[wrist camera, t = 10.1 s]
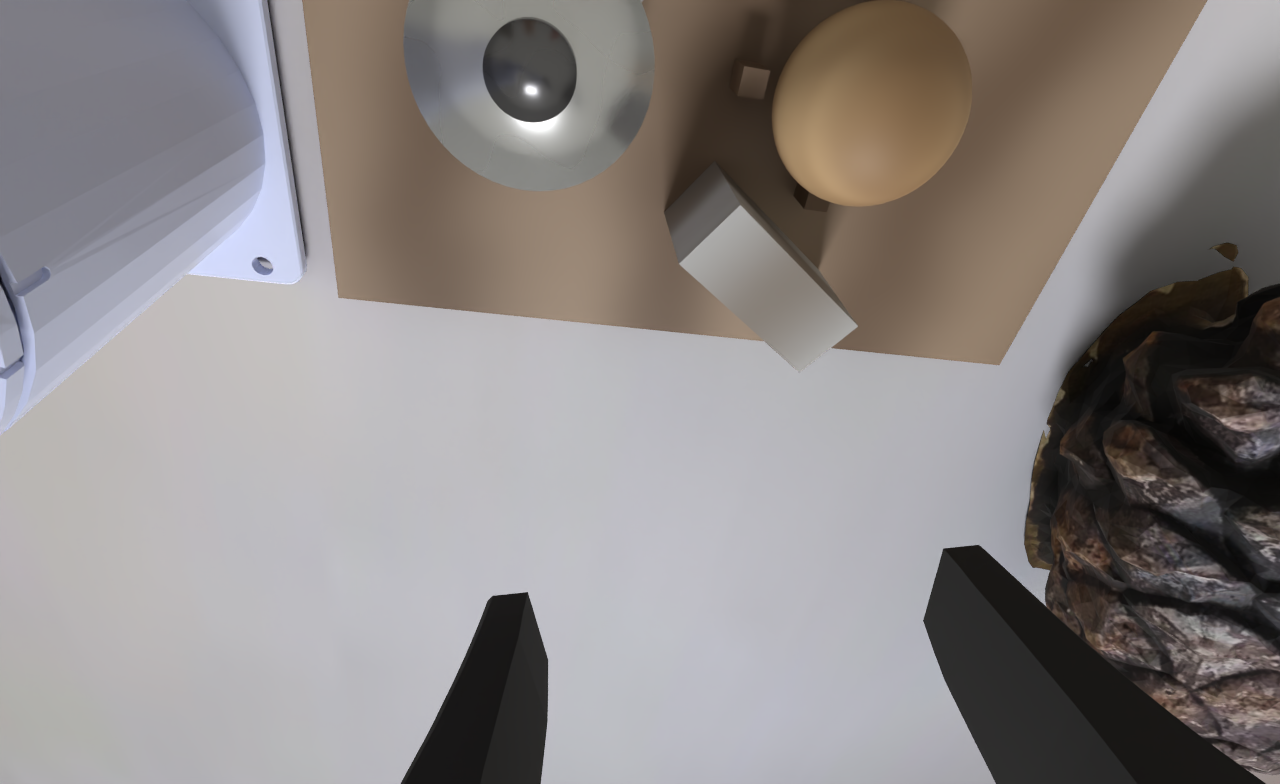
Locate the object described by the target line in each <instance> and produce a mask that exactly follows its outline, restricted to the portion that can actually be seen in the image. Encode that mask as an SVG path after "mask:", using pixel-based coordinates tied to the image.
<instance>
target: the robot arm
mask: <svg viewBox="0 0 1280 784" xmlns="http://www.w3.org/2000/svg"><path fill="white" fill-rule="evenodd" d="M258 257H263V258H266V259H267V260H269V261H270V262H271V264H272V266H273V269H268V268H265V267H264V266H262V265H261V264H260V262H259V260H258ZM306 267H307V264H306V257H305V251H304V244H303V237H302V231H301V224H300V217H299V210H298V204H297V197H296V190H295V184H294V177H293V170H292V163H291V157H290V150H289V143H288V137H287V130H286V123H285V117H284V110H283V103H282V96H281V90H280V83H279V76H278V70H277V63H276V56H275V49H274V43H273V36H272V29H271V23H270V16H269V9H268V2H267V0H0V435H1V434H2V433H3V432H5V431H6V430H7V429H9V428H10V427H11V426H12V425H13V424H15V423H16V422H17V421H18V420H19V419H20V418H21V417H23V416H24V415H25V414H26V413H27V412H28V411H30V410H31V409H32V408H33V407H34V406H35V405H36V404H38V403H39V402H40V401H41V400H42V399H43V398H45V397H46V396H47V395H48V394H49V393H50V392H51V391H53V390H54V389H55V388H56V387H57V386H58V385H59V384H61V383H62V382H63V381H64V380H65V379H66V378H68V377H69V376H70V375H71V374H72V373H73V372H74V371H76V370H77V369H78V368H79V367H80V366H81V365H82V364H84V363H85V362H86V361H87V360H88V359H89V358H91V357H92V356H93V355H94V354H95V353H96V352H97V351H99V350H100V349H101V348H102V347H103V346H104V345H106V344H107V343H108V342H109V341H110V340H111V339H112V338H114V337H115V336H116V335H117V334H118V333H119V332H120V331H122V330H123V329H124V328H125V327H126V326H127V325H129V324H130V323H131V322H132V321H133V320H134V319H135V318H137V317H138V316H139V315H140V314H141V313H142V312H143V311H145V310H146V309H147V308H148V307H149V306H150V305H152V304H153V303H154V302H155V301H156V300H157V299H158V298H160V297H161V296H162V295H163V294H164V293H165V292H167V291H168V290H169V289H170V288H171V287H172V286H173V285H175V284H176V283H177V282H178V281H179V280H180V279H181V278H183V277H184V276H185V275H186V274H192V275H202V276H212V277H221V278H231V279H240V280H250V281H260V282H269V283H279V284H294V283H296V282H298V281H299V280H300V279H301V278H302V276H303V275H304V274H305V272H306ZM923 621H924V624H925V627H926V630H927V633H928V636H929V639H930V641H931V644H932V647H933V650H934V653H935V656H936V658H937V661H938V663H939V666H940V669H941V671H942V674H943V677H944V679H945V682H946V684H947V686H948V688H949V690H950V692H951V694H952V696H953V698H954V700H955V702H956V704H957V706H958V708H959V710H960V712H961V714H962V716H963V718H964V720H965V722H966V724H967V726H968V728H969V730H970V732H971V734H972V736H973V738H974V740H975V742H976V744H977V746H978V748H979V750H980V752H981V754H982V756H983V758H984V760H985V762H986V764H987V766H988V768H989V770H990V772H991V774H992V776H993V778H994V780H995V782H996V784H1266V783H1264V782H1263V781H1261V780H1260V779H1258V778H1257V777H1256V776H1254V775H1253V774H1252V773H1250V772H1249V771H1247V770H1246V769H1245V768H1243V767H1242V766H1241V765H1239V764H1238V763H1236V762H1235V761H1234V760H1232V759H1231V758H1230V757H1228V756H1227V755H1225V754H1224V753H1223V752H1221V751H1220V750H1219V749H1217V748H1216V747H1214V746H1213V745H1212V744H1210V743H1209V742H1208V741H1206V740H1205V739H1204V738H1202V737H1201V736H1200V735H1199V734H1197V733H1196V732H1195V731H1193V730H1192V729H1191V728H1189V727H1188V726H1187V725H1186V724H1184V723H1183V722H1182V721H1180V720H1179V719H1178V718H1177V717H1175V716H1174V715H1173V714H1171V713H1170V712H1169V711H1168V710H1166V709H1165V708H1164V707H1163V706H1162V705H1160V704H1159V703H1158V702H1157V701H1155V700H1154V699H1153V698H1152V697H1150V696H1149V695H1148V694H1147V693H1145V692H1144V691H1143V690H1142V689H1140V688H1139V687H1138V686H1137V685H1136V684H1134V683H1133V682H1132V681H1131V680H1130V679H1128V678H1127V677H1126V676H1125V675H1124V674H1122V673H1121V672H1120V671H1119V670H1118V669H1116V668H1115V667H1114V666H1113V665H1112V664H1111V663H1109V662H1108V661H1107V660H1106V659H1105V658H1104V657H1102V656H1101V655H1100V654H1099V653H1098V652H1097V651H1096V650H1094V649H1093V648H1092V647H1091V646H1090V645H1089V644H1088V643H1086V642H1085V641H1084V640H1083V639H1082V638H1081V637H1079V636H1078V635H1077V634H1076V633H1075V632H1074V631H1073V630H1071V629H1070V628H1069V627H1068V626H1067V625H1066V624H1065V623H1064V622H1063V621H1061V620H1060V619H1059V618H1058V617H1057V616H1056V615H1055V614H1054V613H1053V612H1051V611H1050V610H1049V609H1048V608H1047V607H1046V606H1045V605H1044V604H1043V603H1042V602H1040V601H1039V600H1038V599H1037V598H1036V597H1035V596H1034V595H1033V594H1032V593H1031V592H1030V591H1029V590H1027V589H1026V588H1025V587H1024V586H1023V585H1022V584H1021V583H1020V582H1019V581H1018V580H1017V579H1016V578H1014V577H1013V576H1012V575H1011V574H1010V573H1009V572H1008V571H1007V570H1006V569H1005V568H1004V567H1003V566H1002V565H1000V564H999V563H998V562H997V561H996V560H995V559H994V558H993V557H992V556H991V555H990V554H988V553H987V552H986V551H985V550H984V549H983V548H982V547H981V546H979V545H974V546H964V547H955V548H945V549H943V552H942V556H941V559H940V563H939V567H938V570H937V574H936V577H935V581H934V584H933V588H932V592H931V595H930V599H929V602H928V606H927V609H926V613H925V616H924V620H923ZM547 712H548V658H547V655H546V652H545V648H544V645H543V642H542V638H541V635H540V632H539V628H538V625H537V622H536V618H535V615H534V612H533V608H532V605H531V602H530V598H529V595H528V592H526V593H517V594H507V595H497V596H492V597H491V598H490V599H489V600H488V601H487V604H486V607H485V609H484V612H483V615H482V617H481V620H480V622H479V625H478V627H477V630H476V632H475V635H474V637H473V639H472V642H471V644H470V646H469V649H468V651H467V653H466V656H465V658H464V660H463V662H462V664H461V667H460V669H459V671H458V673H457V675H456V678H455V680H454V682H453V684H452V686H451V688H450V690H449V692H448V694H447V696H446V698H445V700H444V702H443V704H442V706H441V708H440V710H439V712H438V715H437V717H436V719H435V721H434V723H433V725H432V727H431V729H430V731H429V732H428V734H427V736H426V738H425V740H424V742H423V744H422V746H421V747H420V749H419V751H418V753H417V755H416V756H415V758H414V760H413V762H412V764H411V766H410V767H409V769H408V771H407V773H406V775H405V777H404V778H403V780H402V782H401V784H541V775H542V766H543V757H544V748H545V739H546V729H547Z"/></svg>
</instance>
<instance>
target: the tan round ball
mask: <svg viewBox="0 0 1280 784" xmlns="http://www.w3.org/2000/svg"><path fill="white" fill-rule="evenodd" d="M971 103H972V76H971V69H970V65H969V61H968V58H967V55H966V53H965V51H964V49H963V46H962V44H961V42H960V40H959V39H958V38H957V36H956V35H955V33H954V32H953V31H952V30H951V29H950V28H949V26H948V25H947V24H946V23H945V22H944V21H943V20H942V19H940V18H939V17H938V16H936V15H935V14H933V13H932V12H930V11H928V10H926V9H924V8H922V7H920V6H917V5H915V4H911V3H908V2H904V1H895V0H874V1H868V2H863V3H859V4H856V5H853V6H851V7H848V8H845V9H843V10H841V11H839V12H837V13H835V14H833V15H831V16H830V17H828V18H827V19H825V20H824V21H822V22H821V23H819V24H818V25H817V26H816V27H815V28H813V29H812V30H811V31H810V32H809V33H808V34H807V35H806V36H805V37H804V38H803V39H802V41H801V42H800V43H799V44H798V46H797V47H796V48H795V50H794V51H793V52H792V54H791V55H790V57H789V59H788V61H787V62H786V64H785V66H784V68H783V70H782V72H781V75H780V77H779V80H778V83H777V86H776V89H775V94H774V99H773V105H772V129H773V135H774V141H775V144H776V148H777V151H778V154H779V156H780V158H781V160H782V162H783V164H784V165H785V167H786V169H787V170H788V171H789V173H790V174H791V176H792V177H793V178H794V179H795V180H796V181H797V182H798V183H799V184H800V185H801V186H802V187H804V188H805V189H806V190H807V191H809V192H810V193H811V194H813V195H815V196H817V197H819V198H821V199H823V200H826V201H829V202H831V203H834V204H839V205H843V206H855V207H863V206H874V205H879V204H883V203H886V202H889V201H893V200H896V199H898V198H900V197H903V196H905V195H907V194H909V193H910V192H912V191H914V190H916V189H917V188H919V187H920V186H921V185H923V184H924V183H926V182H927V181H928V180H929V179H930V178H931V177H932V176H934V175H935V174H936V173H937V172H938V171H939V170H940V168H941V167H942V166H943V165H944V164H945V163H946V161H947V160H948V159H949V157H950V156H951V155H952V153H953V152H954V150H955V148H956V147H957V145H958V143H959V141H960V139H961V137H962V135H963V133H964V130H965V127H966V125H967V122H968V118H969V114H970V110H971Z"/></svg>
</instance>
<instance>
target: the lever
mask: <svg viewBox="0 0 1280 784" xmlns="http://www.w3.org/2000/svg"><path fill="white" fill-rule="evenodd" d="M642 2H643V0H409V3H408V6H407V11H406V17H405V23H404V38H403V47H404V59H405V66H406V71H407V76H408V81H409V84H410V87H411V90H412V93H413V96H414V99H415V101H416V103H417V105H418V108H419V110H420V112H421V114H422V116H423V118H424V119H425V121H426V123H427V124H428V126H429V128H430V129H431V131H432V132H433V133H434V134H435V136H436V137H437V138H438V140H439V141H440V142H441V143H442V145H443V146H444V147H445V148H446V149H447V150H448V151H449V152H450V153H451V154H452V155H453V156H454V157H455V158H457V159H458V160H459V161H460V162H461V163H463V164H464V165H465V166H467V167H468V168H470V169H471V170H473V171H474V172H476V173H477V174H479V175H481V176H483V177H485V178H487V179H489V180H491V181H493V182H496V183H498V184H501V185H504V186H507V187H511V188H515V189H520V190H528V191H553V190H559V189H565V188H568V187H572V186H575V185H578V184H581V183H583V182H585V181H587V180H590V179H592V178H593V177H595V176H597V175H598V174H600V173H601V172H603V171H605V170H606V169H607V168H608V167H609V166H611V165H612V164H613V163H614V162H615V161H616V160H617V159H618V158H619V157H620V156H621V155H622V154H623V153H624V152H625V151H626V149H627V148H628V147H629V145H630V144H631V142H632V141H633V140H634V138H635V137H636V135H637V133H638V131H639V129H640V127H641V125H642V123H643V121H644V118H645V116H646V113H647V110H648V107H649V103H650V99H651V95H652V91H653V83H654V74H655V56H654V47H653V39H652V34H651V30H650V26H649V22H648V19H647V16H646V13H645V10H644V8H643V5H642Z"/></svg>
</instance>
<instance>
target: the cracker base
mask: <svg viewBox="0 0 1280 784" xmlns="http://www.w3.org/2000/svg"><path fill="white" fill-rule="evenodd" d="M868 1H874V0H643V2H642V5H643V8H644V10H645V13H646V16H647V19H648V22H649V26H650V30H651V34H652V39H653V47H654V56H655V74H654V83H653V91H652V95H651V99H650V103H649V107H648V110H647V113H646V116H645V118H644V121H643V123H642V125H641V127H640V129H639V131H638V133H637V135H636V137H635V138H634V140H633V141H632V142H631V144H630V145H629V147H628V148H627V149H626V151H625V152H624V153H623V154H622V155H621V156H620V157H619V158H618V159H617V160H616V161H615V162H614V163H613V164H612V165H611V166H609V167H608V168H607V169H606V170H605V171H603V172H601V173H600V174H598V175H597V176H595V177H593V178H592V179H590V180H587V181H585V182H583V183H581V184H578V185H575V186H572V187H568V188H565V189H559V190H553V191H528V190H520V189H515V188H511V187H507V186H504V185H501V184H498V183H496V182H493V181H491V180H489V179H487V178H485V177H483V176H481V175H479V174H477V173H476V172H474V171H473V170H471V169H470V168H468V167H467V166H465V165H464V164H463V163H461V162H460V161H459V160H458V159H457V158H455V157H454V156H453V155H452V154H451V153H450V152H449V151H448V150H447V149H446V148H445V147H444V146H443V145H442V143H441V142H440V141H439V140H438V138H437V137H436V136H435V134H434V133H433V132H432V131H431V129H430V128H429V126H428V124H427V123H426V121H425V119H424V118H423V116H422V114H421V112H420V110H419V108H418V105H417V103H416V101H415V99H414V96H413V93H412V90H411V87H410V84H409V81H408V76H407V71H406V66H405V59H404V47H403V38H404V23H405V17H406V11H407V6H408V3H409V0H302V2H303V10H304V18H305V27H306V35H307V43H308V51H309V59H310V68H311V76H312V84H313V92H314V100H315V108H316V117H317V125H318V133H319V141H320V149H321V158H322V166H323V174H324V182H325V190H326V198H327V207H328V215H329V223H330V231H331V239H332V248H333V256H334V264H335V272H336V280H337V288H338V297H339V298H346V299H356V300H366V301H376V302H386V303H395V304H405V305H415V306H425V307H434V308H444V309H454V310H464V311H474V312H483V313H493V314H503V315H513V316H523V317H532V318H542V319H552V320H562V321H572V322H581V323H591V324H601V325H611V326H621V327H630V328H640V329H650V330H660V331H670V332H679V333H689V334H699V335H709V336H719V337H728V338H738V339H748V340H758V341H765V342H766V343H767V344H768V345H769V346H770V347H771V348H772V349H774V350H775V351H776V352H777V353H778V354H779V355H780V356H781V357H782V358H784V359H785V360H786V361H787V362H788V363H789V364H790V365H791V366H792V367H793V368H795V369H796V370H797V371H798V372H799V373H800V372H801V371H803V370H804V369H805V368H806V367H808V366H809V365H810V364H811V363H813V362H814V361H815V360H816V359H818V358H819V357H820V356H821V355H823V354H824V353H825V352H826V351H828V350H829V349H830V348H836V349H846V350H856V351H865V352H875V353H885V354H895V355H905V356H914V357H924V358H934V359H944V360H954V361H963V362H973V363H983V364H993V365H1000V363H1001V361H1002V359H1003V358H1004V356H1005V354H1006V352H1007V351H1008V349H1009V347H1010V345H1011V344H1012V342H1013V340H1014V338H1015V337H1016V335H1017V333H1018V331H1019V330H1020V328H1021V326H1022V324H1023V323H1024V321H1025V319H1026V317H1027V316H1028V314H1029V312H1030V310H1031V309H1032V307H1033V305H1034V303H1035V302H1036V300H1037V298H1038V296H1039V295H1040V293H1041V291H1042V289H1043V287H1044V286H1045V284H1046V282H1047V280H1048V279H1049V277H1050V275H1051V273H1052V272H1053V270H1054V268H1055V266H1056V265H1057V263H1058V261H1059V259H1060V258H1061V256H1062V254H1063V252H1064V251H1065V249H1066V247H1067V245H1068V244H1069V242H1070V240H1071V238H1072V237H1073V235H1074V233H1075V231H1076V230H1077V228H1078V226H1079V224H1080V223H1081V221H1082V219H1083V217H1084V216H1085V214H1086V212H1087V210H1088V209H1089V207H1090V205H1091V203H1092V202H1093V200H1094V198H1095V196H1096V195H1097V193H1098V191H1099V189H1100V188H1101V186H1102V184H1103V182H1104V181H1105V179H1106V177H1107V175H1108V174H1109V172H1110V170H1111V168H1112V167H1113V165H1114V163H1115V161H1116V160H1117V158H1118V156H1119V154H1120V153H1121V151H1122V149H1123V147H1124V146H1125V144H1126V142H1127V140H1128V139H1129V137H1130V135H1131V133H1132V132H1133V130H1134V128H1135V126H1136V124H1137V123H1138V121H1139V119H1140V117H1141V116H1142V114H1143V112H1144V110H1145V109H1146V107H1147V105H1148V103H1149V102H1150V100H1151V98H1152V96H1153V95H1154V93H1155V91H1156V89H1157V88H1158V86H1159V84H1160V82H1161V81H1162V79H1163V77H1164V75H1165V74H1166V72H1167V70H1168V68H1169V67H1170V65H1171V63H1172V61H1173V60H1174V58H1175V56H1176V54H1177V53H1178V51H1179V49H1180V47H1181V46H1182V44H1183V42H1184V40H1185V39H1186V37H1187V35H1188V33H1189V32H1190V30H1191V28H1192V26H1193V25H1194V23H1195V21H1196V19H1197V18H1198V16H1199V14H1200V12H1201V11H1202V9H1203V7H1204V5H1205V4H1206V2H1207V0H895V1H904V2H908V3H911V4H915V5H917V6H920V7H922V8H924V9H926V10H928V11H930V12H932V13H933V14H935V15H936V16H938V17H939V18H940V19H942V20H943V21H944V22H945V23H946V24H947V25H948V26H949V28H950V29H951V30H952V31H953V32H954V33H955V35H956V36H957V38H958V39H959V40H960V42H961V44H962V46H963V49H964V51H965V53H966V55H967V58H968V61H969V65H970V69H971V76H972V103H971V110H970V114H969V118H968V122H967V125H966V127H965V130H964V133H963V135H962V137H961V139H960V141H959V143H958V145H957V147H956V148H955V150H954V152H953V153H952V155H951V156H950V157H949V159H948V160H947V161H946V163H945V164H944V165H943V166H942V167H941V168H940V170H939V171H938V172H937V173H936V174H935V175H934V176H932V177H931V178H930V179H929V180H928V181H927V182H926V183H924V184H923V185H921V186H920V187H919V188H917V189H916V190H914V191H912V192H910V193H909V194H907V195H905V196H903V197H900V198H898V199H896V200H893V201H889V202H886V203H883V204H879V205H874V206H863V207H855V206H843V205H839V204H834V203H831V202H829V201H826V200H823V199H821V198H819V197H817V196H815V195H813V194H811V193H810V192H809V191H807V190H806V189H805V188H804V187H802V186H801V185H800V184H799V183H798V182H797V181H796V180H795V179H794V178H793V177H792V176H791V174H790V173H789V171H788V170H787V169H786V167H785V165H784V164H783V162H782V160H781V158H780V156H779V154H778V151H777V148H776V144H775V141H774V135H773V129H772V105H773V99H774V94H775V89H776V86H777V83H778V80H779V77H780V75H781V72H782V70H783V68H784V66H785V64H786V62H787V61H788V59H789V57H790V55H791V54H792V52H793V51H794V50H795V48H796V47H797V46H798V44H799V43H800V42H801V41H802V39H803V38H804V37H805V36H806V35H807V34H808V33H809V32H810V31H811V30H812V29H813V28H815V27H816V26H817V25H818V24H819V23H821V22H822V21H824V20H825V19H827V18H828V17H830V16H831V15H833V14H835V13H837V12H839V11H841V10H843V9H845V8H848V7H851V6H853V5H856V4H859V3H863V2H868Z"/></svg>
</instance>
